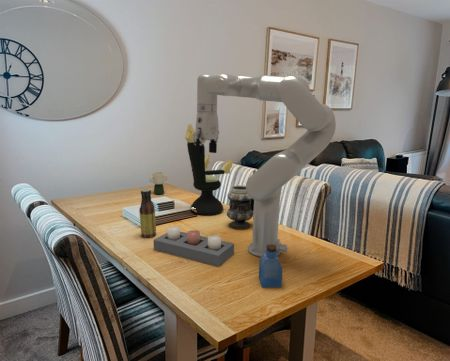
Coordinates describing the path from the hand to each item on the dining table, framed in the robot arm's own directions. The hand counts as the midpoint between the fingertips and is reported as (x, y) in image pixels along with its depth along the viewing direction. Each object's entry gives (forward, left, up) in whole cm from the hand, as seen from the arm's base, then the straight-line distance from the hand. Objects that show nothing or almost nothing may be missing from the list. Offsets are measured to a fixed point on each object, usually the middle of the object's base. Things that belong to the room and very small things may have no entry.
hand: (206, 154), depth 133 cm
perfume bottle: (-35, +20, -35) cm, 54 cm away
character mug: (+61, -46, -35) cm, 84 cm away
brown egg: (-2, +13, -32) cm, 35 cm away
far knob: (+7, +13, -32) cm, 36 cm away
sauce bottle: (+23, +9, -35) cm, 43 cm away
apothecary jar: (-5, -21, -35) cm, 42 cm away
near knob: (-11, +13, -32) cm, 37 cm away
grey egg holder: (-2, +13, -35) cm, 37 cm away
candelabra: (+19, -30, -35) cm, 50 cm away
